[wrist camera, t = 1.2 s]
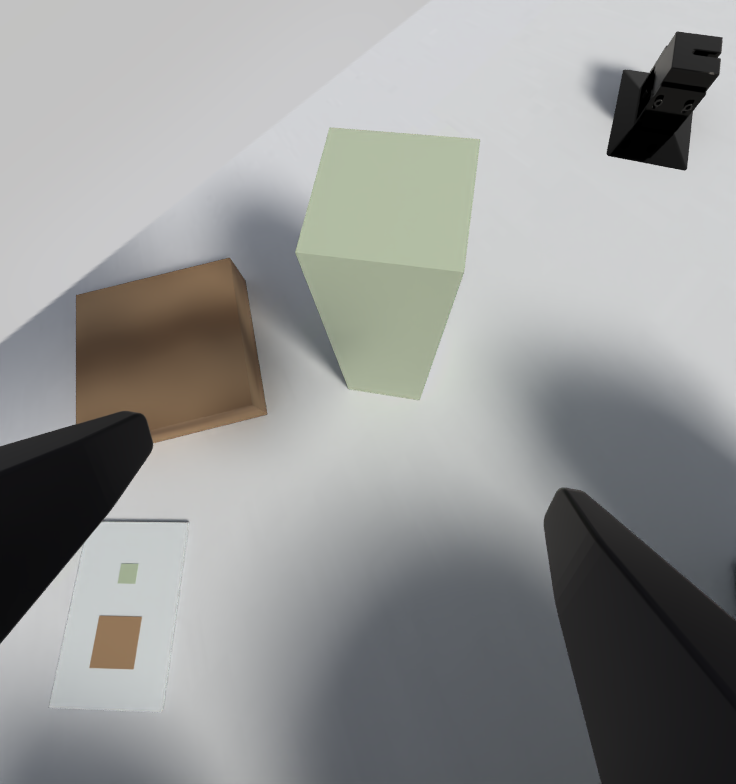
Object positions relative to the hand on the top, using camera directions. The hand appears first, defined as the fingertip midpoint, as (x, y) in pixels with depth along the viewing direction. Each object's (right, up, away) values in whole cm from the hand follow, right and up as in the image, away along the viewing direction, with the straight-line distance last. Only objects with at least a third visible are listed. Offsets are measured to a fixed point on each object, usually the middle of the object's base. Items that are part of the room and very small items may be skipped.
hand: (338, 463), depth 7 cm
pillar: (+2, +4, +15) cm, 15 cm away
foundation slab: (-12, +4, +15) cm, 20 cm away
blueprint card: (-13, -10, +11) cm, 20 cm away
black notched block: (+23, +23, +20) cm, 38 cm away
